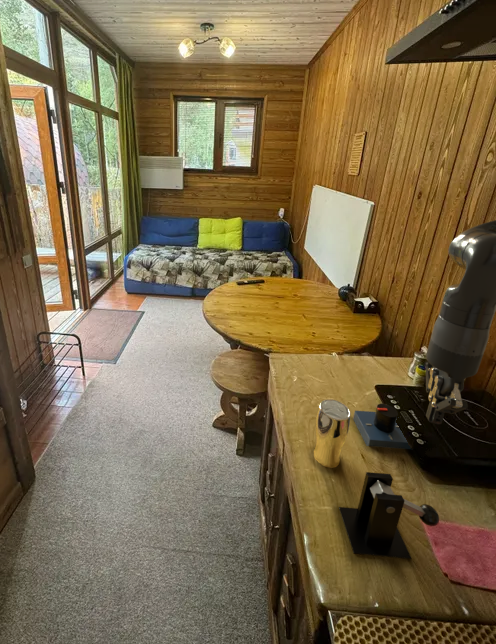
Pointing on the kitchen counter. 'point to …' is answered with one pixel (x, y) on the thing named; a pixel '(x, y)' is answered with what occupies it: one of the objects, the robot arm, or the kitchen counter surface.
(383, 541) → the bracket
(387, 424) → the knob
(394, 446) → the valve panel
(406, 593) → the kitchen counter surface
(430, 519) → the tap lever
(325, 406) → the beer glass
